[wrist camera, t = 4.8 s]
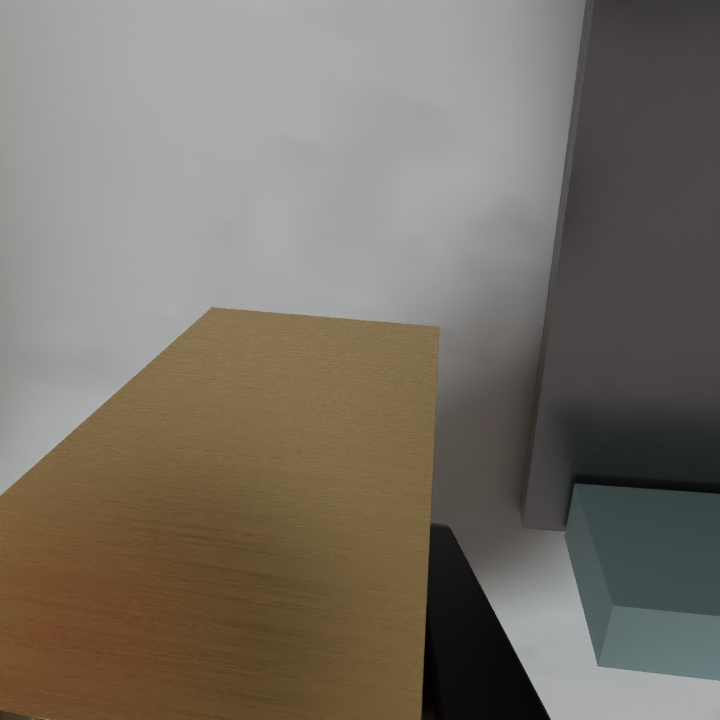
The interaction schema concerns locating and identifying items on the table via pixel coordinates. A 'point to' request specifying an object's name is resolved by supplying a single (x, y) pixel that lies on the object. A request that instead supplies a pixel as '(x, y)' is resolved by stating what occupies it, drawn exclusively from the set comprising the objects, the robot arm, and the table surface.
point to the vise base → (634, 266)
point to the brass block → (231, 533)
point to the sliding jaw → (649, 577)
